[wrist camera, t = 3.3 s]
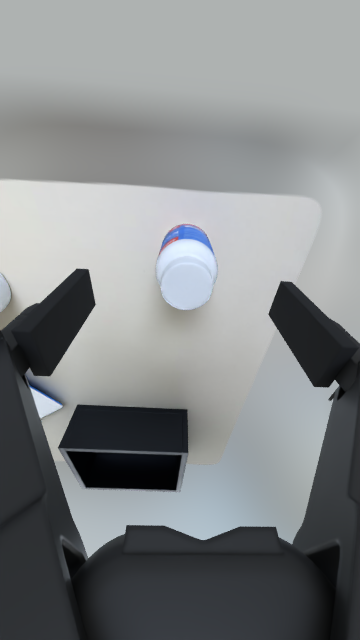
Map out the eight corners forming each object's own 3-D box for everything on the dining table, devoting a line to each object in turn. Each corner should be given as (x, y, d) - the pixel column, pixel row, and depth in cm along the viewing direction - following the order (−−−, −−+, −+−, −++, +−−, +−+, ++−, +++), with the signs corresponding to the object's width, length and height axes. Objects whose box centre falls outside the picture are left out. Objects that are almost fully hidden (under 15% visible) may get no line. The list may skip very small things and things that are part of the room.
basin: (187, 409, 42) (188, 452, 35) (180, 453, 54) (180, 492, 47) (77, 404, 41) (57, 448, 35) (94, 450, 53) (82, 489, 46)
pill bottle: (172, 213, 21) (167, 237, 13) (218, 235, 23) (238, 268, 15) (155, 261, 24) (142, 304, 16) (196, 278, 26) (203, 325, 18)
